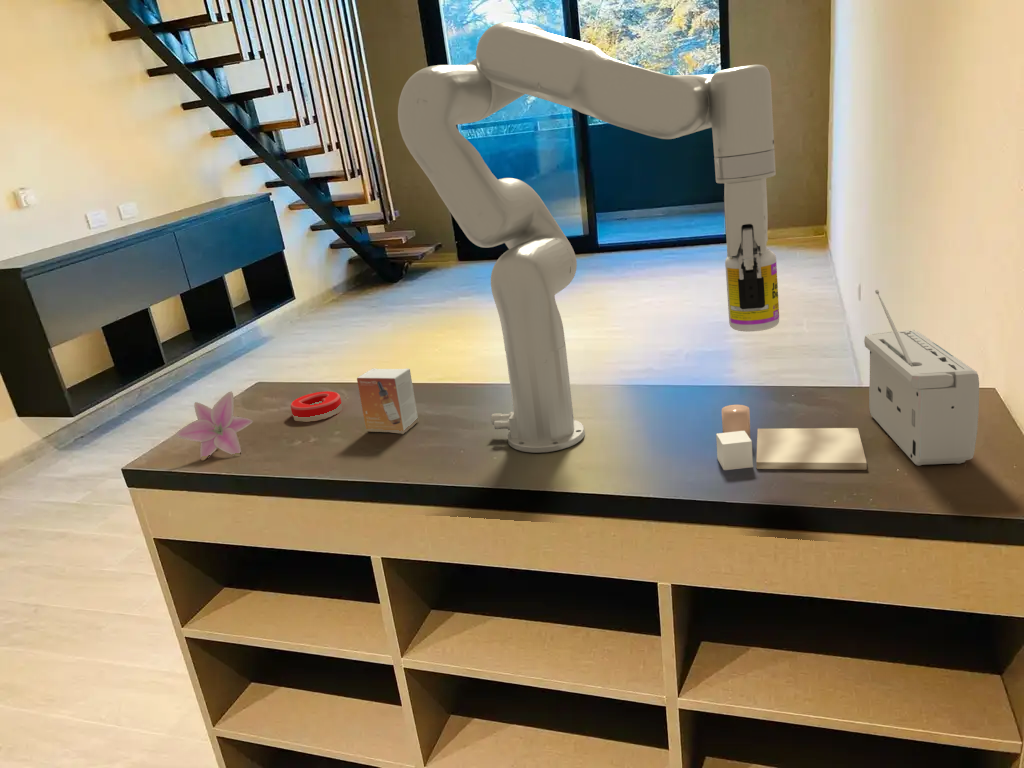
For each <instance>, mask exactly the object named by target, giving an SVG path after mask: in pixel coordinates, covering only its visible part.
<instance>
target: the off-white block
mask: <svg viewBox="0 0 1024 768" xmlns="http://www.w3.org/2000/svg"><path fill="white" fill-rule="evenodd" d="M715 435H716V436H715V438H716V439H715V440H716V455H717V456H716V457H717V461H718V462H719V464H720V466H721V468H722V470H723V471H730V470H731V471H732V470H740V469H748V468H750V469H751V468H753V467H754V465H753V464H754V462H753V440H752V439H750V438H749V436H748V435H747V434H746V432H745V431H736V432H727V433H723V432H719V433H716V434H715Z"/></svg>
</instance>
